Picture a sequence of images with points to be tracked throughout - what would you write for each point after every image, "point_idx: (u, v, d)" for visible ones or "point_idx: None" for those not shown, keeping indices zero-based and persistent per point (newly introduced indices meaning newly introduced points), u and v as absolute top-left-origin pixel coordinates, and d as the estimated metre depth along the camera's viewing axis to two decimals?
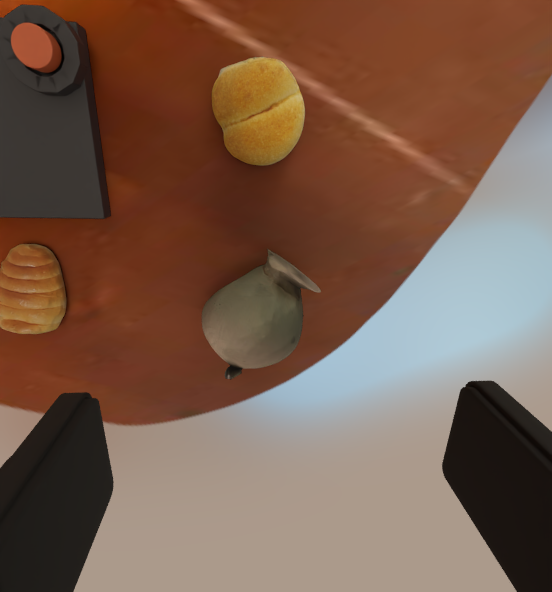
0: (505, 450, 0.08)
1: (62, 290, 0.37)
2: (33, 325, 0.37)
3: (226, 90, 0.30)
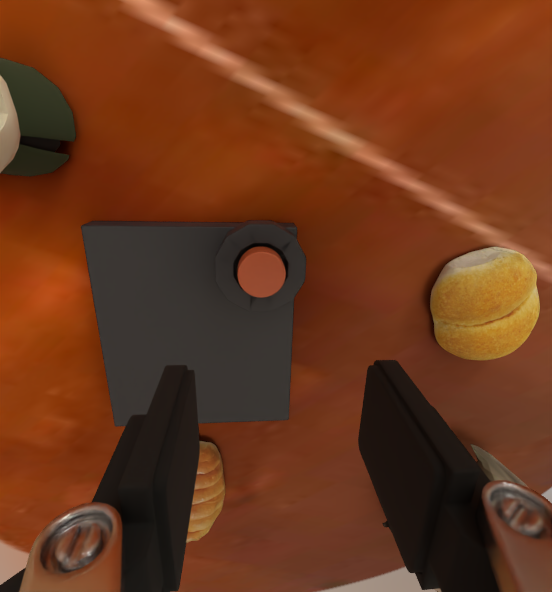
0: (390, 419, 0.08)
1: (224, 486, 0.32)
2: (195, 533, 0.31)
3: (466, 298, 0.25)
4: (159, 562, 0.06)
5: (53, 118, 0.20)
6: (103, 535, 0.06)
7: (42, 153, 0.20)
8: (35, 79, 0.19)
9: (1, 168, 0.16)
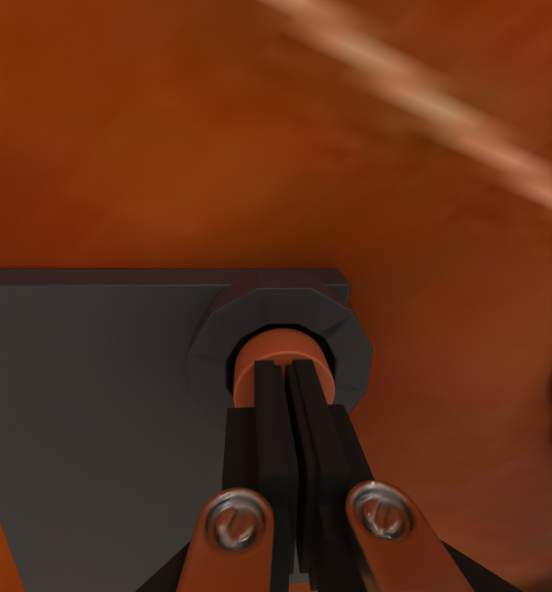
0: (293, 418, 0.08)
1: None
2: None
3: None
4: None
5: None
6: None
7: None
8: None
9: None
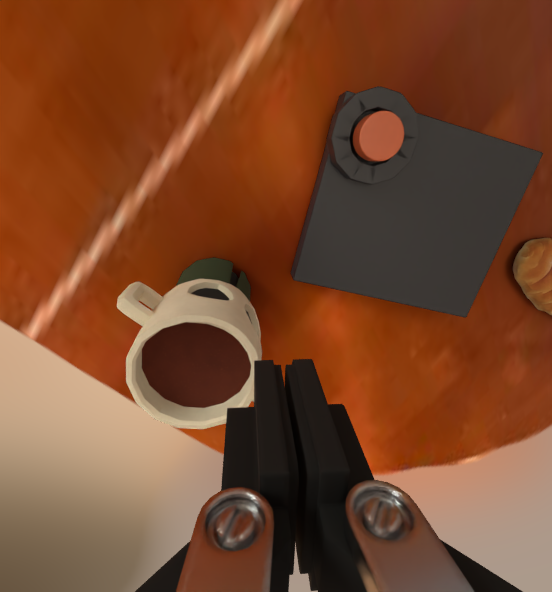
0: (293, 418, 0.08)
1: None
2: None
3: None
4: None
5: (218, 268, 0.27)
6: None
7: (240, 283, 0.27)
8: (192, 270, 0.27)
9: (250, 303, 0.23)
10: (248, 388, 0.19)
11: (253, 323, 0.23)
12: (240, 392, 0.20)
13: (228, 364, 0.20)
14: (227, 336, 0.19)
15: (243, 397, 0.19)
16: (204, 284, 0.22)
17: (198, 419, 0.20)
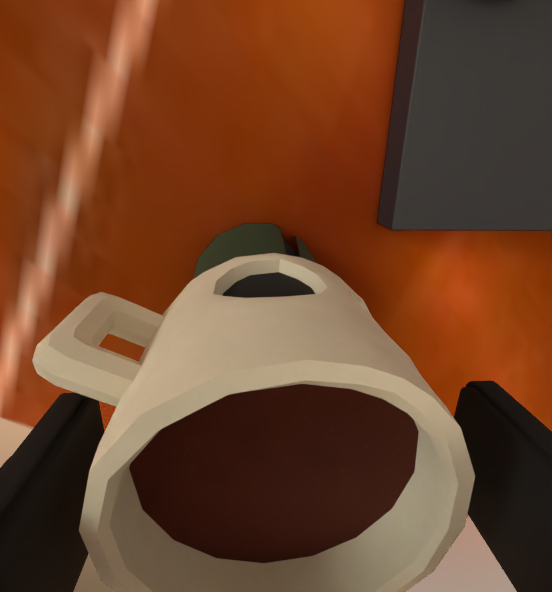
0: (505, 450, 0.08)
1: None
2: None
3: None
4: None
5: (258, 237, 0.15)
6: None
7: (304, 257, 0.15)
8: (212, 252, 0.15)
9: None
10: (432, 517, 0.07)
11: None
12: (395, 511, 0.08)
13: (358, 457, 0.08)
14: (348, 392, 0.07)
15: (422, 542, 0.07)
16: (247, 267, 0.09)
17: None
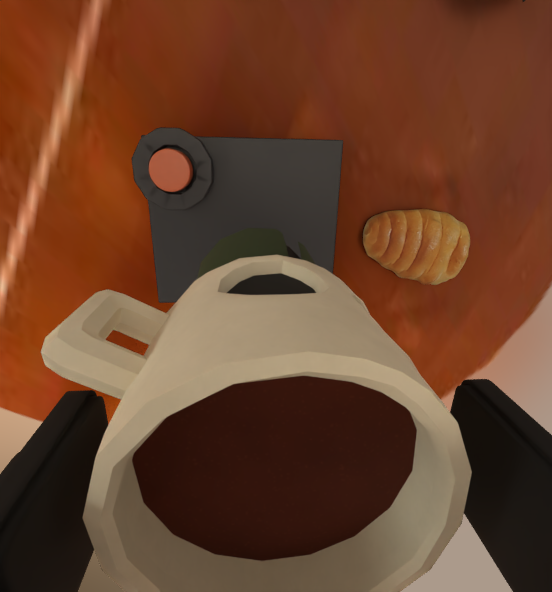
0: (499, 447, 0.08)
1: (420, 209, 0.32)
2: (459, 242, 0.31)
3: None
4: None
5: (261, 241, 0.15)
6: None
7: None
8: (216, 255, 0.15)
9: (351, 291, 0.11)
10: (429, 514, 0.07)
11: None
12: (392, 510, 0.08)
13: (357, 455, 0.08)
14: (349, 388, 0.07)
15: (419, 539, 0.07)
16: (251, 268, 0.10)
17: None
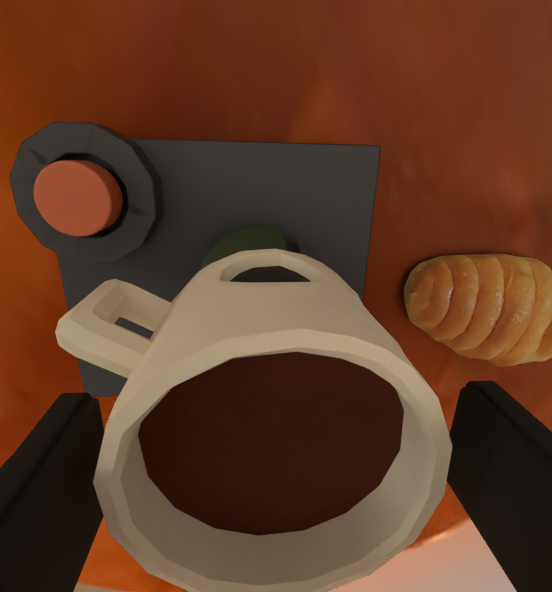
0: (505, 450, 0.08)
1: (496, 254, 0.20)
2: None
3: None
4: None
5: (261, 238, 0.16)
6: None
7: None
8: (218, 251, 0.16)
9: (346, 284, 0.11)
10: (414, 488, 0.08)
11: None
12: (382, 487, 0.09)
13: (348, 433, 0.08)
14: (340, 369, 0.08)
15: (405, 512, 0.08)
16: (250, 260, 0.10)
17: (302, 572, 0.08)
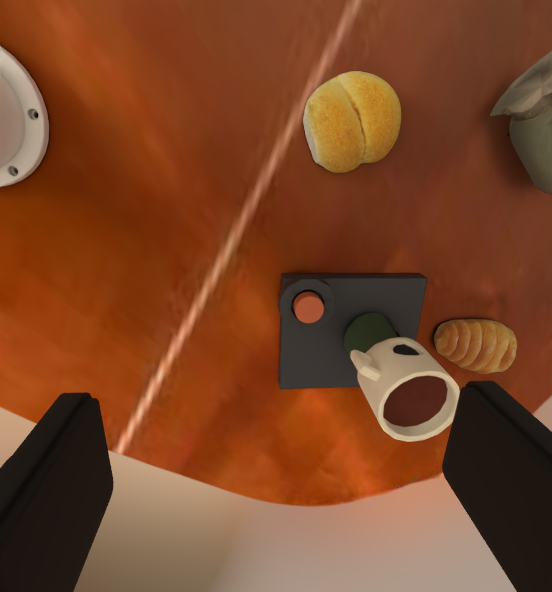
0: (505, 450, 0.07)
1: (479, 320, 0.42)
2: (509, 346, 0.42)
3: (339, 156, 0.33)
4: None
5: (380, 322, 0.37)
6: None
7: (398, 330, 0.37)
8: (360, 327, 0.38)
9: None
10: (451, 409, 0.30)
11: None
12: (440, 411, 0.31)
13: (432, 395, 0.30)
14: (432, 378, 0.29)
15: (448, 415, 0.30)
16: (396, 343, 0.32)
17: (419, 434, 0.30)
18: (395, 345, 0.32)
